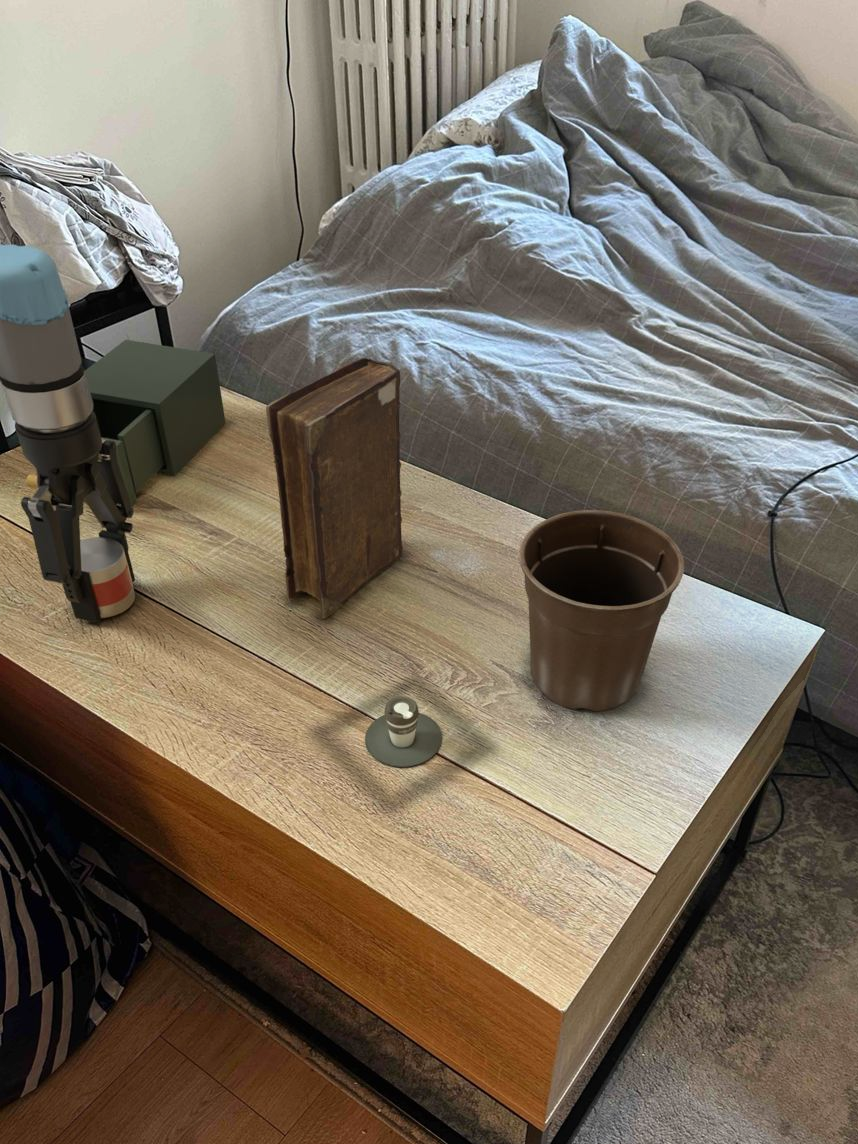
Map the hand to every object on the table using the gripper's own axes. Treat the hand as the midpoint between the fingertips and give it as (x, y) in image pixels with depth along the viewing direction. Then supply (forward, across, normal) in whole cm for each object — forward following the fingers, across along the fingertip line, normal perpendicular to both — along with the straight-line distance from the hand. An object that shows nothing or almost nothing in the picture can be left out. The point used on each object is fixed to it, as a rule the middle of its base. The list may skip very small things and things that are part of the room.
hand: (106, 598), depth 111 cm
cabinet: (+1, -35, -13) cm, 37 cm away
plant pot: (+1, -4, +55) cm, 55 cm away
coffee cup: (+1, +11, +39) cm, 41 cm away
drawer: (0, -22, -13) cm, 25 cm away
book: (+1, -13, +25) cm, 28 cm away
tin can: (0, 0, 0) cm, 0 cm away
